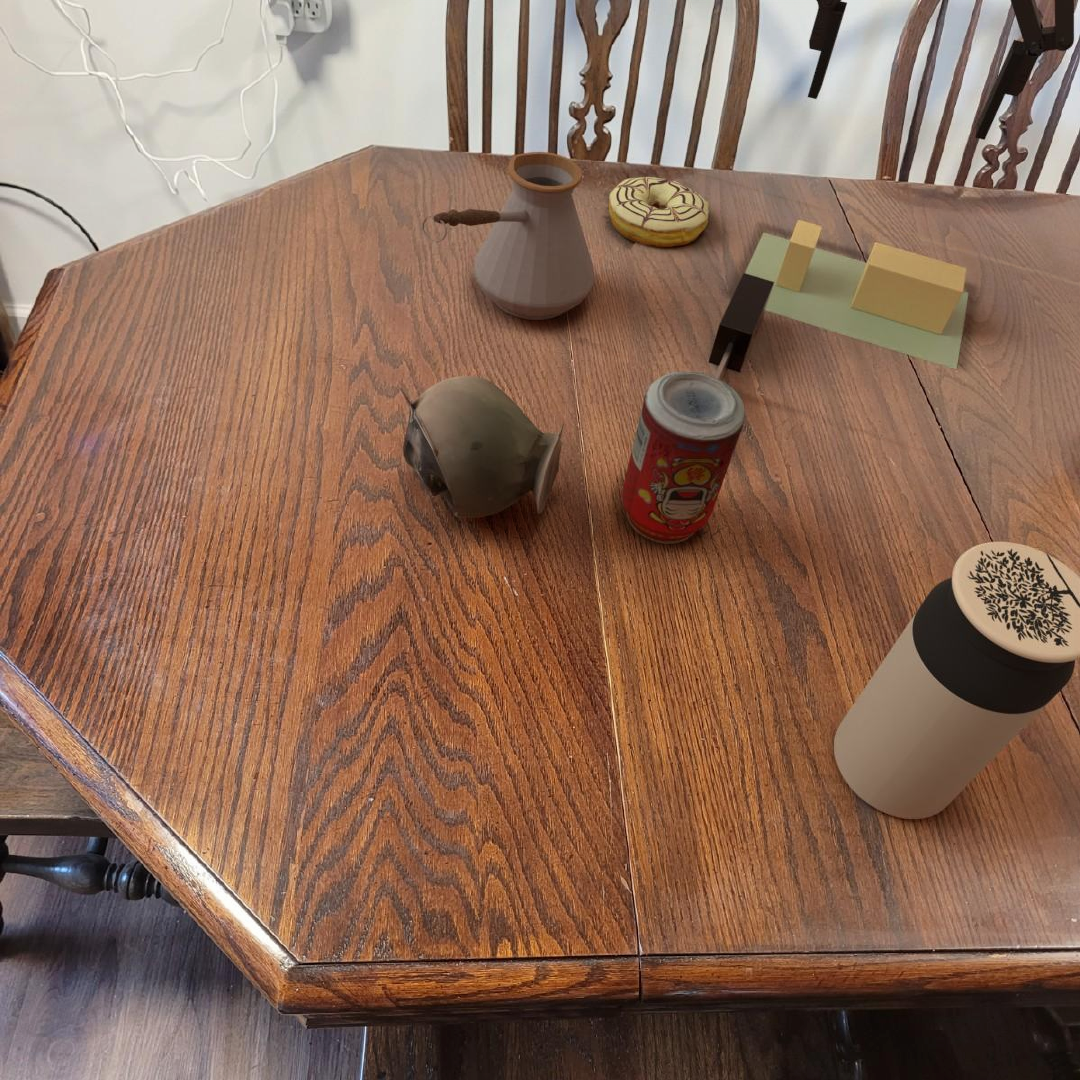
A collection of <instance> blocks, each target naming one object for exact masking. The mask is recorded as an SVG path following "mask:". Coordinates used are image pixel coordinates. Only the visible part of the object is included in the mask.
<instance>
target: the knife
mask: <svg viewBox="0 0 1080 1080" xmlns="http://www.w3.org/2000/svg"><path fill="white" fill-rule="evenodd" d="M773 285H774V282H772V281H769V280H766V279H762V278H759V277H756V276H752V275H749V274H746V273H745V272H742V275H741V277H740V278H739V281H738V283H737V285H736V288H735V289H734V292H733V294H732V297H731V298H730V300H729V302H728V305H727V307H726V309H725V312H724V313H723V316H722V317H721V320H720V322H719V324H718V327H717V331H716V334H715V338H714V341H713V345H712V348H711V352H710V355H709V358H708V361H707V362H708V363H709V364H712V365H715V366H718V368H717V370H716V371H715V375H714V376H713V377H714V378H717V379H719V380H721V381H722V379H723V377H724V374H725V372H726V370H730V371H733V372H736V373H738V374H739V373H741V372H742V369H743V366H744V364H745V361H746V359H747V357H748V354H749V352H750V349H751V347H752V345H753V342H754V340H755V338H756V335H757V332H758V331H759V328H760V325H761V323H762V320H763V318H764V314H765V312H766V311H765V309H766V306H767V303H768V300H769V297H770V294H771V291H772V288H773Z"/></svg>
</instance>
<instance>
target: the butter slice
mask: <svg viewBox="0 0 1080 1080" xmlns="http://www.w3.org/2000/svg"><path fill="white" fill-rule="evenodd" d="M823 228H824V227H823V226H822V225H819V224H815V223H812V222H809V221H804V220H801V219H798V220H797V222H796V224H795V227H794V229H793V232H792V235H791V237H790V239H789V240H790V242H789V245H788V248H787V251H786V254H785V257H784V260H783V263H782V266H781V269H780V271H779V274H778V277H777V280H776V283H775V285H777V286H780V287H783V288H787V289H790V290H793V291H797V292H799V291H800V288H801V286H802V283H803V280H804V277H805V275H806V272H807V269H808V266H809V264H810V261H811V258H812V255H813V253H814V250H815V248H817V245H818V244H817V243H818V242H819V239H820V237H821V232H822V231H823Z"/></svg>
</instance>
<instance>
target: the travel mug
mask: <svg viewBox="0 0 1080 1080" xmlns="http://www.w3.org/2000/svg"><path fill="white" fill-rule="evenodd" d="M951 573H952V574H951V577H949V578H946V579H944V580H942V581H940V582H939V583H937V584H936V585H935V586H933V588H932V589H931V590H930V591H929V593H928V594H927V595H926V597H925V598H924V600H923V601H922V603H921V605H920V606H919V607H918V609H917V610H916V612H915V613H914V615H913V616H912V617H911V619H910V621H909V622H908V624H907V625H906V626H905V628H904V629H903V631H902V633H901V634H900V635H899V637H898V638H897V640H896V641H895V642H894V644H893V645H892V647H891V648H890V650H889V651H888V653H887V655H886V656H885V657H884V659H883V660H882V662H881V663H880V665H879V666H878V668H877V669H876V671H875V672H874V673H873V674H872V676H871V678H870V680H869V681H868V682H867V684H866V686H864V688H863V690H862V691H861V693H860V694H859V696H858V697H857V699H856V700H855V702H854V703H853V704H852V706H851V707H850V709H849V710H848V712H847V713H846V714H845V716H844V718H843V719H842V721H841V722H840V724H839V725H838V727H837V729H836V732H835V735H834V739H833V753H834V758H835V762H836V765H837V768H838V769H839V772H840V774H841V776H842V777H843V779H844V781H845V783H846V784H847V785H848V786H849V788H850V789H851V790H852V791H853V792H854V794H856V796H858V797H859V798H860V799H861V800H863V801H864V802H865V803H867V804H868V805H870V806H871V807H873V808H874V809H876V810H878V811H879V812H882V813H885V814H887V815H890V816H892V817H896V818H900V819H906V820H919V819H925V818H930V817H933V816H935V815H937V814H939V813H940V812H942V811H943V810H944V809H946V808H947V807H948V806H949V805H950V804H951V802H953V801H954V800H955V799H956V798H957V797H958V796H959V795H960V794H961V792H963V790H965V788H966V787H967V786H968V785H969V784H970V783H971V782H972V781H973V780H975V778H976V777H977V776H978V775H979V774H980V773H981V772H983V770H985V768H986V767H987V766H988V765H989V764H990V763H991V762H992V761H993V760H994V759H995V758H996V757H997V756H998V755H999V754H1000V753H1001V752H1002V751H1003V749H1005V748H1006V747H1007V745H1009V743H1010V742H1011V741H1013V740H1014V739H1015V737H1016V736H1018V735H1019V734H1020V732H1022V730H1023V729H1024V728H1025V727H1026V726H1027V725H1028V724H1030V722H1031V721H1033V719H1034V718H1035V717H1036V716H1037V715H1038V714H1039V713H1041V711H1042V710H1043V709H1044V708H1045V707H1047V705H1048V704H1049V703H1050V702H1051V701H1052V700H1053V699H1054V698H1055V697H1056V696H1057V695H1058V694H1059V693H1060V692H1061V691H1062V689H1064V688H1065V687H1066V685H1067V684H1068V683H1069V682H1070V680H1071V679H1072V677H1073V674H1074V671H1075V666H1076V660H1079V659H1080V576H1079V575H1078V574H1077V573H1076V572H1075V571H1074V570H1073V569H1071V568H1070V567H1069V566H1068V565H1066V564H1065V563H1063V562H1062V561H1060V560H1059V559H1058V558H1056V557H1054V556H1052V555H1050V554H1048V553H1047V552H1044V551H1041V550H1039V549H1037V548H1034V547H1031V546H1030V545H1029V546H1028V545H1025V544H1021V543H1016V542H1011V541H1010V542H1009V541H990V542H989V541H988V542H984V543H980V544H977V545H974V546H972V547H970V548H968V549H967V550H965V551H964V552H963V553H962V554H961V555H960V556H959V558H958V559H957V560H956V562H955V564H954V566H953V569H952V572H951Z"/></svg>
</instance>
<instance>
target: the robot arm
mask: <svg viewBox="0 0 1080 1080" xmlns="http://www.w3.org/2000/svg"><path fill="white" fill-rule="evenodd" d="M815 1H816V2H817V5H818V6H817V12H816V16H815V19H814V22H813V26H812V30H811V33H810V37H809V40H808V46H809V50H814V51H818V52H820V53H819V56H818V60H817V63H816V67H815V70H814V74H813V77H812V80H811V84H810V86H809V91H808V94H807V98H810V99H814V100H818V99H817V98H818V97H819V95H820V92H821V89H822V87H823V84H824V80H825V77H826V74H827V70H828V66H829V64H830V61H831V58H832V54H833V51H834V48H835V44H836V41H837V38H838V34H839V31H840V28H841V24H842V22H843V18H844V14H845V11H846V9H847V5H848V2H846V1H843V0H815ZM1010 3H1011V6H1012V9H1013V12H1014V16H1015V19H1016V22H1017V25H1018V28H1019V32H1020V35H1021V38H1022V40H1018V39H1013V41H1012V43H1011V45H1010V48H1009V50H1008V52H1007V55H1006V57H1005V60H1004V61H1003V63H1002V66H1001V67H1000V70H999V72H998V75H997V77H996V79H995V82H994V83H993V87H992V88H991V91H990V94H988V95H989V96H988V98H987V100H986V102H985V104H984V107H983V109H982V111H981V113H980V116H979V118H978V120H977V123H976V127H975V136H974V138H976V139H979V140H984V141H985V140H986V138H987V135H988V133H989V131H990V129H991V127H992V125H993V123H994V120H995V118H996V116H997V113H998V111H999V109H1000V107H1001V105H1002V103H1003V101H1004V98H1005V96H1006V95H1009V96H1012V97H1018V96H1019V95H1020V94H1021V93H1022V92H1023V91H1024V89H1025V87H1026V84H1027V82H1028V80H1029V77H1030V76H1031V74H1032V72H1033V69H1034V67H1035V65H1036V63H1037V61H1038V59H1039V57H1040V56H1042V54H1043V53H1046V52H1048V51H1055V50H1057V51H1060V52H1065V51H1068V50H1069V49H1071V48H1072V47H1073V45H1074V43H1075V0H1054V25H1052V26H1045V27H1044V24H1043V21H1042V19H1041V16H1040V12H1039V8H1038V4H1037V1H1036V0H1010Z"/></svg>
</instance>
